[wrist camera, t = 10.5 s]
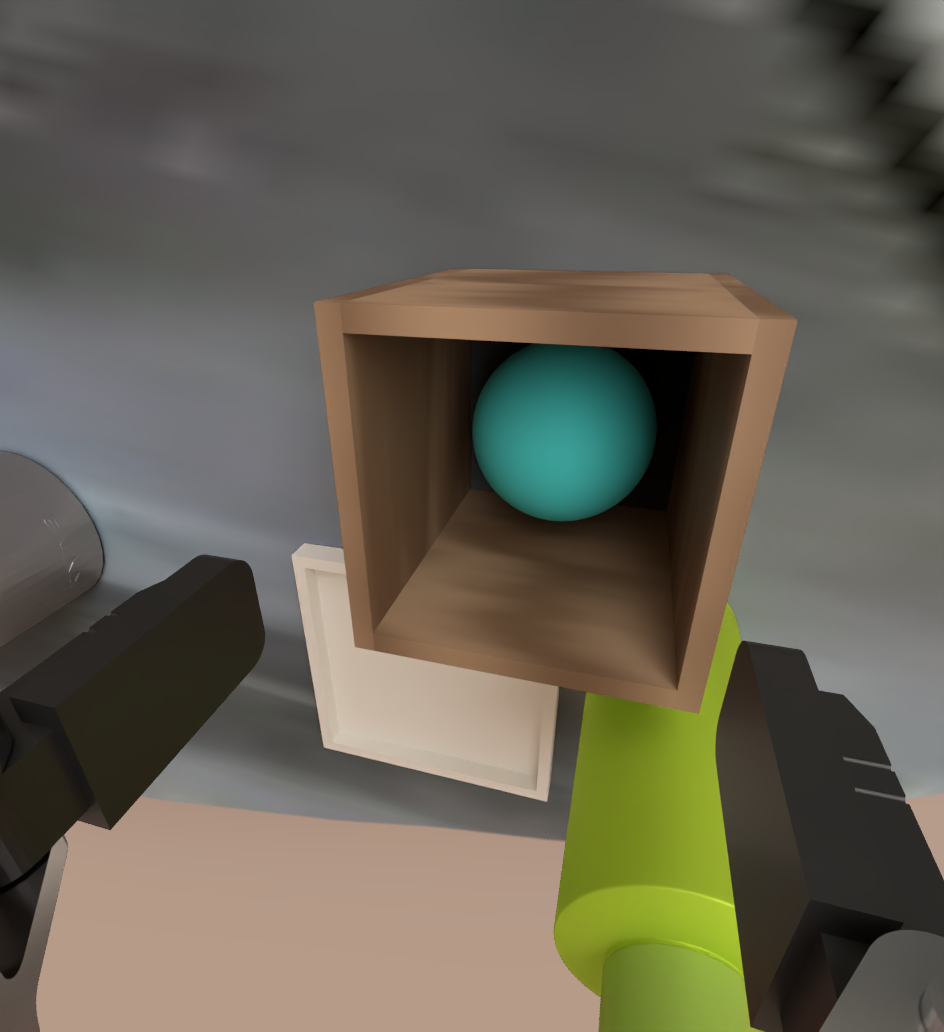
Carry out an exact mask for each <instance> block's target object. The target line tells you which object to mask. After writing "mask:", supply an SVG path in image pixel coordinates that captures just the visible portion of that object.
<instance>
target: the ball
mask: <svg viewBox="0 0 944 1032" xmlns="http://www.w3.org/2000/svg"><path fill="white" fill-rule="evenodd" d="M656 435H657V417H656V411H655V406H654V402H653V399H652V396H651V394H650V391H649V388H648V387H647V385H646V383H645V381H644V379H643V378H642V376H641V375H640V374H639V372H638V371H637V369H636V368H635V367H634V366H633V365H632V364H631V363H630V362H629V361H628V360H627V359H626V358H624V357H623V356H622V355H620V354H619V353H618V352H616V351H614V350H613V349H611V348H609V347H600V346H580V345H561V344H542V343H532V344H530V345H528V346H526V347H524V348H522V349H520V350H519V351H517V352H516V353H514V354H512V355H511V356H510V357H508V358H507V359H506V360H505V361H504V362H502V363H501V364H500V365H499V366H498V368H497V369H496V370H495V371H494V372H493V373H492V375H491V376H490V378H489V379H488V381H487V382H486V384H485V385H484V387H483V389H482V391H481V393H480V395H479V398H478V401H477V404H476V407H475V412H474V417H473V426H472V436H473V445H474V450H475V455H476V459H477V462H478V464H479V467H480V469H481V471H482V473H483V475H484V477H485V478H486V480H487V481H488V483H489V484H490V486H491V487H492V488H493V489H494V490H495V492H496V493H497V494H498V495H499V496H500V497H501V498H502V499H503V500H504V501H506V502H507V503H508V504H510V505H511V506H512V507H514V508H516V509H518V510H519V511H521V512H523V513H525V514H528V515H530V516H533V517H536V518H540V519H544V520H550V521H575V520H580V519H585V518H589V517H592V516H595V515H598V514H600V513H602V512H604V511H606V510H608V509H610V508H611V507H613V506H615V505H616V504H617V503H619V502H620V501H621V500H622V499H624V498H625V497H626V496H627V495H628V494H629V493H630V492H631V491H632V490H633V489H634V488H635V487H636V485H637V484H638V483H639V481H640V480H641V478H642V477H643V475H644V473H645V471H646V470H647V468H648V466H649V464H650V461H651V458H652V456H653V452H654V448H655V443H656Z"/></svg>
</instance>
